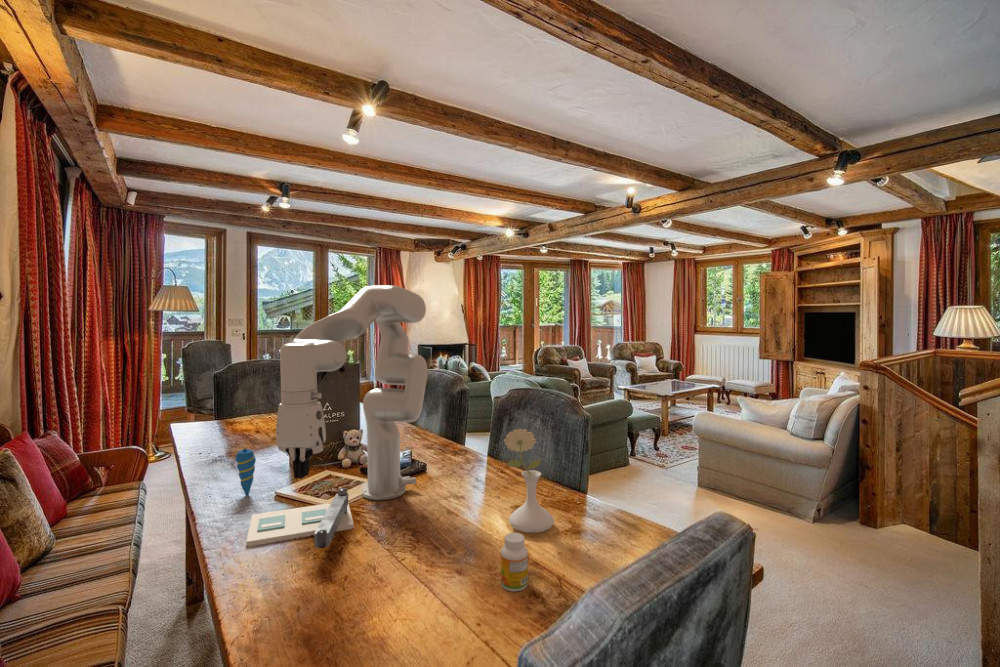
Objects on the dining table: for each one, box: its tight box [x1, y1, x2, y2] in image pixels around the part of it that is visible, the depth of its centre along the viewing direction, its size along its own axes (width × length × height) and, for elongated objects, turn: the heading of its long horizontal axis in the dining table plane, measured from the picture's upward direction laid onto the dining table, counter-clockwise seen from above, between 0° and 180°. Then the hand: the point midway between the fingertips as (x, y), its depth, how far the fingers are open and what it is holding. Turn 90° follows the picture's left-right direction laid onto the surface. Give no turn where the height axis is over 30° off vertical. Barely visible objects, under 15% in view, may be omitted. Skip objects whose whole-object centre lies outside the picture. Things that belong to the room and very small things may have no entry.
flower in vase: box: [503, 428, 555, 534], centre depth 121 cm, size 13×11×25 cm
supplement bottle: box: [500, 532, 529, 593], centre depth 96 cm, size 5×5×10 cm
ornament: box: [235, 445, 257, 496], centre depth 141 cm, size 5×5×15 cm
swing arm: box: [313, 487, 349, 549], centre depth 115 cm, size 25×3×6 cm, turn 7°
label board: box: [245, 503, 355, 547], centre depth 123 cm, size 24×16×2 cm, turn 113°
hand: (301, 476), depth 109 cm, fingers closed
